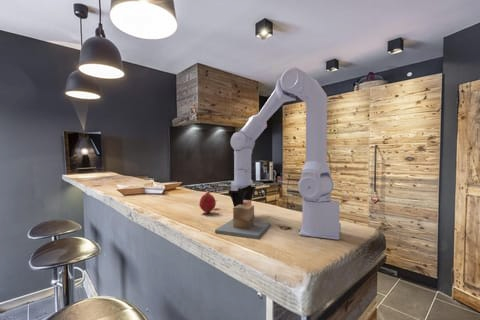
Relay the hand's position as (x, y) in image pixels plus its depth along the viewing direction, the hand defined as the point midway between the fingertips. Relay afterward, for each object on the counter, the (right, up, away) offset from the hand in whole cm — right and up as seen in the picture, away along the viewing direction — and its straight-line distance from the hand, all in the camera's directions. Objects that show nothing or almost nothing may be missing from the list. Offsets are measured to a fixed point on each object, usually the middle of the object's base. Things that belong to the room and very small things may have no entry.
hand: (242, 209), depth 76 cm
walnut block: (0, -2, -13) cm, 13 cm away
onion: (-13, -3, +6) cm, 14 cm away
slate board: (0, -3, -13) cm, 13 cm away
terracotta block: (0, -3, 0) cm, 3 cm away
